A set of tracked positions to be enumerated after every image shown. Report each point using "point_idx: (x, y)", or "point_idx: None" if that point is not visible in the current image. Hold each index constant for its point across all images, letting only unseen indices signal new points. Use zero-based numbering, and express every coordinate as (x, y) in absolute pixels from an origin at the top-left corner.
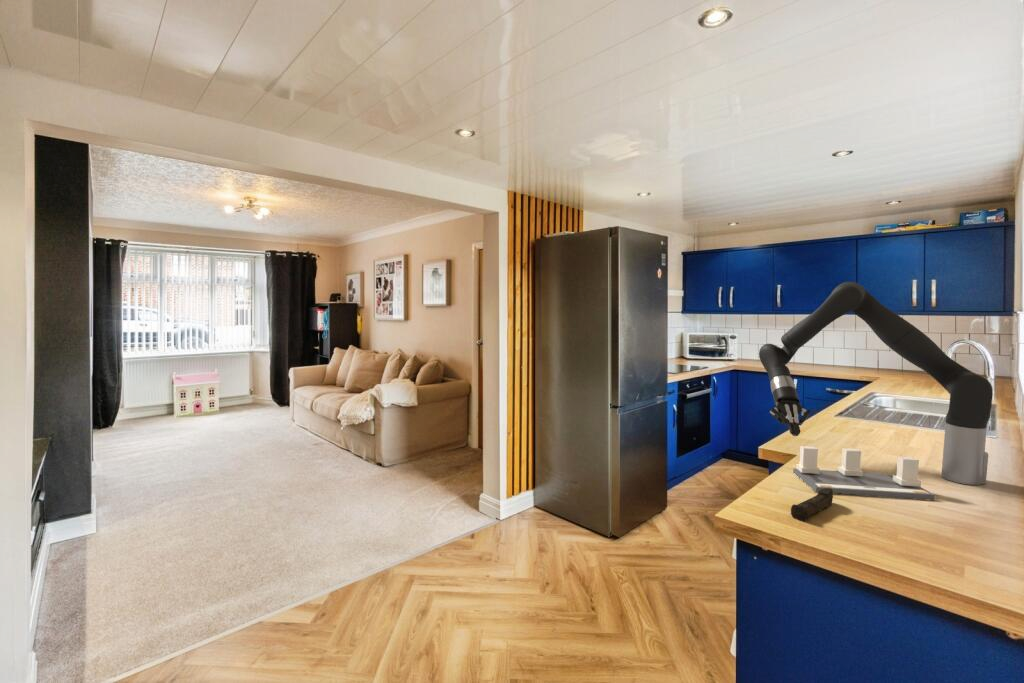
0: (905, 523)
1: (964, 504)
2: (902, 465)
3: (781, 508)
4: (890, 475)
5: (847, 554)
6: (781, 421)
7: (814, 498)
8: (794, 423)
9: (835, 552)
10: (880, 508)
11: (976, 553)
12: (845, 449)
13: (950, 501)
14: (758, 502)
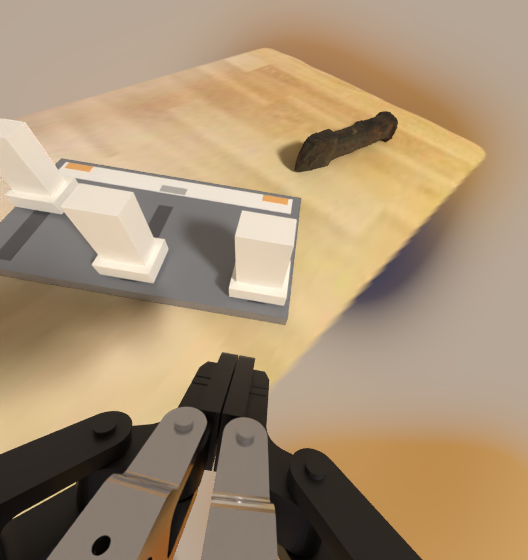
0: (227, 121)
1: None
2: (38, 144)
3: (394, 162)
4: (6, 254)
5: (356, 89)
6: (320, 548)
7: (353, 130)
8: (220, 413)
9: (366, 92)
10: (220, 152)
11: (211, 79)
12: (123, 202)
13: None
14: (429, 179)
